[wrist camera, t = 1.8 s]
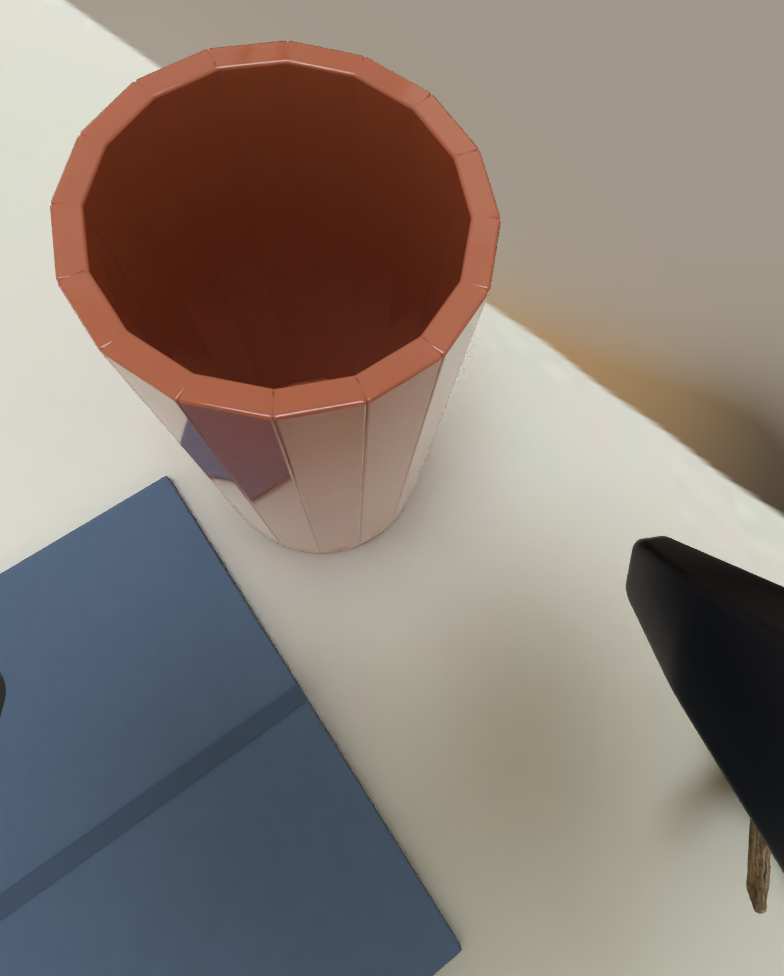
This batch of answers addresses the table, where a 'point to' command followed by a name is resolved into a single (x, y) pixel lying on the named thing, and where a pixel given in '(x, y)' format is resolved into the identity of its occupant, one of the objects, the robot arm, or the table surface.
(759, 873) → the eagle figurine
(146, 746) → the napkin
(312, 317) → the pencil cup
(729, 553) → the table surface
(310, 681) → the table surface
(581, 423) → the table surface
